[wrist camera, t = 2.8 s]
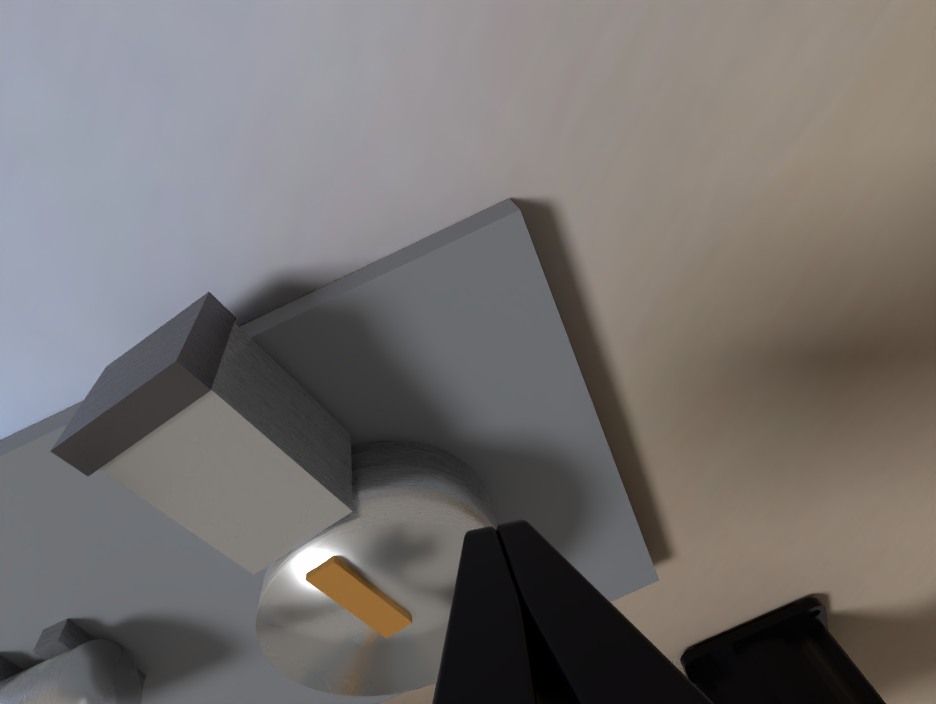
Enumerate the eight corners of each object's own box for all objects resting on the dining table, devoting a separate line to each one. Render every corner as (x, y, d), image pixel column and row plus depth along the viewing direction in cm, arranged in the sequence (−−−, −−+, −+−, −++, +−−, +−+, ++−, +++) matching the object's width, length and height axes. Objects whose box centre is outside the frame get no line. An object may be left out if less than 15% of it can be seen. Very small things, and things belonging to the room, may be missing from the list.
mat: (509, 198, 14) (519, 209, 13) (646, 558, 22) (659, 580, 21) (-199, 534, 15) (-230, 565, 14) (175, 766, 23) (168, 795, 22)
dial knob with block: (528, 530, 18) (561, 620, 16) (363, 630, 19) (368, 731, 16) (270, 247, 13) (250, 311, 10) (50, 407, 13) (-24, 507, 11)
